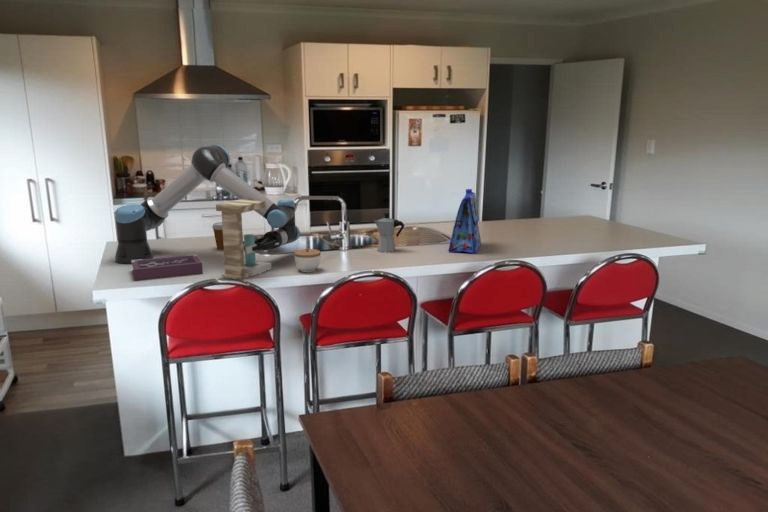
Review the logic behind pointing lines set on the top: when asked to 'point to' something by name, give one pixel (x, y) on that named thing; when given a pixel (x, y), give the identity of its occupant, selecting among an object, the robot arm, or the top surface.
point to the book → (166, 267)
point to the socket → (256, 268)
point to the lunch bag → (466, 226)
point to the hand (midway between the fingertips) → (241, 250)
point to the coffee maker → (387, 233)
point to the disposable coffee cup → (218, 235)
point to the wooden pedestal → (235, 234)
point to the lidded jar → (307, 259)
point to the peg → (251, 256)
